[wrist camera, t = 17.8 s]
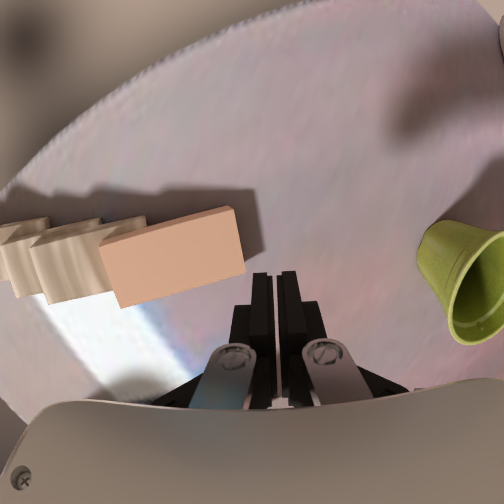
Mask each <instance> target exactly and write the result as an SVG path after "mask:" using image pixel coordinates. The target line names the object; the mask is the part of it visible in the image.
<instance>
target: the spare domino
mask: <svg viewBox="0 0 504 504" xmlns="http://www.w3.org/2000/svg"><path fill="white" fill-rule="evenodd" d="M98 249H99V252H100V255H101V258H102V261H103V264H104V266H105V269H106V272H107V275H108V277H109V280H110V283H111V285H112V288H113V291H114V293H115V296H116V298H117V301H118V303H119V305H120V308H121V309H122V308H126V307H129V306H133V305H137V304H140V303H144V302H147V301H151V300H154V299H158V298H161V297H165V296H168V295H172V294H175V293H179V292H182V291H186V290H189V289H192V288H196V287H199V286H203V285H206V284H209V283H213V282H216V281H220V280H223V279H226V278H230V277H233V276H236V275H240V274H243V273H246V269H245V264H244V259H243V254H242V249H241V244H240V239H239V234H238V229H237V224H236V219H235V213H234V209H232V208H231V207H230V206H228V205H227V206H223V207H219V208H215V209H211V210H207V211H203V212H199V213H195V214H192V215H188V216H184V217H180V218H177V219H173V220H170V221H166V222H162V223H159V224H155V225H152V226H148V227H145V228H141V229H138V230H134V231H131V232H128V233H124V234H121V235H118V236H114V237H111V238H108V239H105V240H102V241H101V243H100V245H99V246H98Z"/></svg>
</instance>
